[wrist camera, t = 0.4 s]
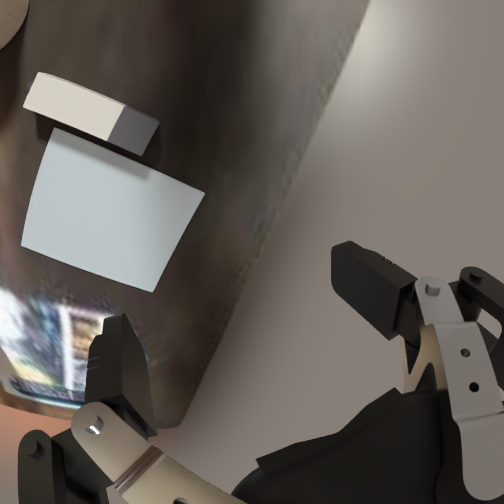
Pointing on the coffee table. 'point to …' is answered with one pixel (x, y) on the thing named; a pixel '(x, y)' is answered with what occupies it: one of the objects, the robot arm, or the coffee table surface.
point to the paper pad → (106, 212)
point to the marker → (90, 112)
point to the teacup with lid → (11, 18)
